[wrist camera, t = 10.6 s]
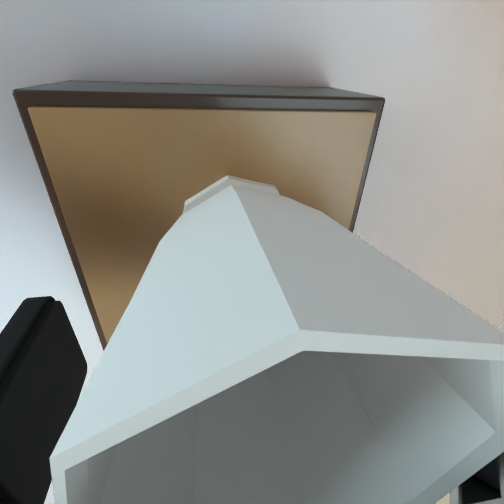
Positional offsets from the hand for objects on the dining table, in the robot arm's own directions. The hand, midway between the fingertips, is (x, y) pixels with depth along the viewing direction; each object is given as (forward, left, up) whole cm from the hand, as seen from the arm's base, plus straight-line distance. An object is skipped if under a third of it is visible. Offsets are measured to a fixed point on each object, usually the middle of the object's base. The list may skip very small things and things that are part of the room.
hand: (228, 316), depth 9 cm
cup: (0, 0, -3) cm, 3 cm away
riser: (0, 0, -8) cm, 8 cm away
